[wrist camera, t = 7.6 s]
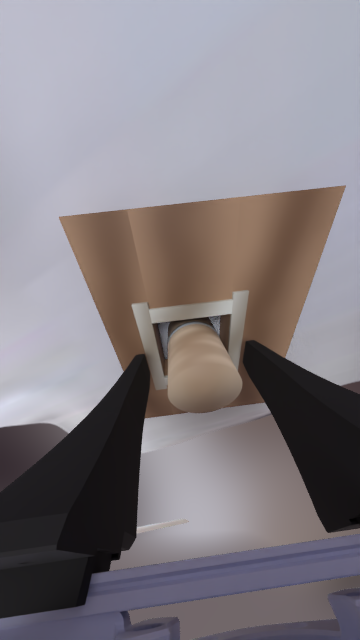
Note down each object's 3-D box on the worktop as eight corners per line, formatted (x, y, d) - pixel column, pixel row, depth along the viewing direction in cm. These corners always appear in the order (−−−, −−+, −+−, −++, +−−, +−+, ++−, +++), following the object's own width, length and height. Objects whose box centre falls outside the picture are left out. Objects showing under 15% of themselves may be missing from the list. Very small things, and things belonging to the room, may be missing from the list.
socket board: (310, 196, 9) (350, 183, 7) (259, 385, 17) (270, 403, 15) (81, 222, 8) (55, 216, 7) (145, 400, 17) (143, 420, 15)
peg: (214, 308, 12) (250, 360, 7) (210, 347, 14) (236, 410, 9) (165, 311, 12) (163, 366, 6) (168, 349, 14) (169, 416, 8)
